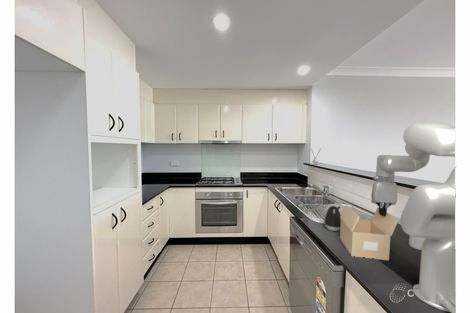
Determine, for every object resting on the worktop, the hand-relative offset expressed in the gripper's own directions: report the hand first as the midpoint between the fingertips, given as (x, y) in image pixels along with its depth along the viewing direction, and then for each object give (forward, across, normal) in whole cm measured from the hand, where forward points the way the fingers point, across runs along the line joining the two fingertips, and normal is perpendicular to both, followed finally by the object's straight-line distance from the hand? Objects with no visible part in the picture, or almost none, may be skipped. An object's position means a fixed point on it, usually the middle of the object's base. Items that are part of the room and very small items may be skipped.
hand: (382, 215), depth 107 cm
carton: (+18, -9, 0) cm, 20 cm away
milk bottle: (+18, +21, +8) cm, 29 cm away
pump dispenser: (+19, -18, +22) cm, 34 cm away
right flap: (+2, +1, 0) cm, 3 cm away
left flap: (+3, -15, 0) cm, 16 cm away
